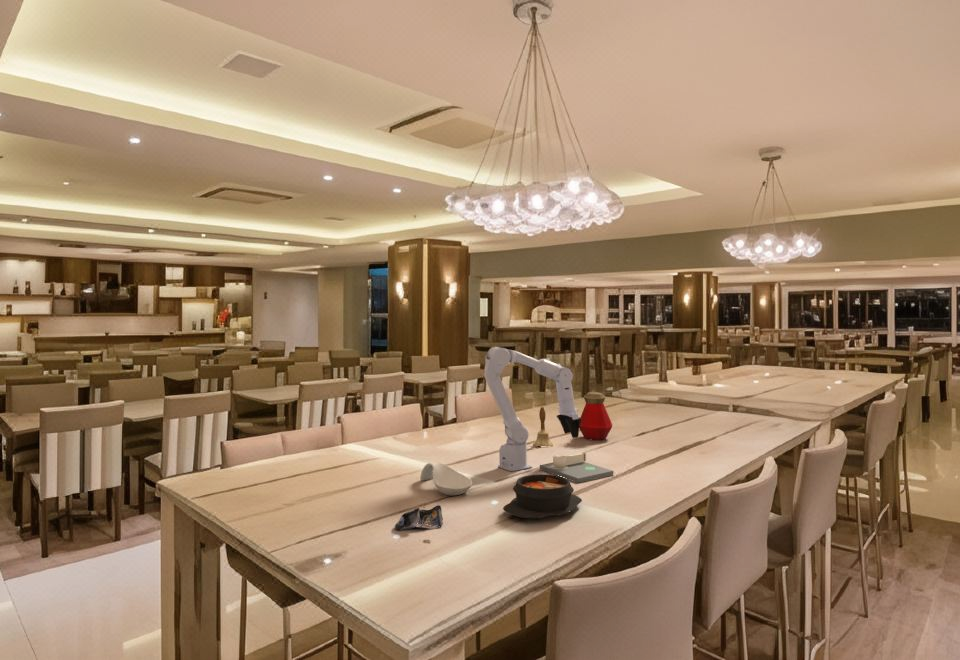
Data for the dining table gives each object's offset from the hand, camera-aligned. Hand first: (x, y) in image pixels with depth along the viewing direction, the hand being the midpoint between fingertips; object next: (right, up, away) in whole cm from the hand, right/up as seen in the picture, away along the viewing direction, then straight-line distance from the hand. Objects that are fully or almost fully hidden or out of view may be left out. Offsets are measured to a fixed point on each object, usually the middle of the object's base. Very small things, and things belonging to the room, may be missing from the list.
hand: (571, 435), depth 213 cm
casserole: (-16, -12, -51) cm, 54 cm away
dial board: (0, -11, -12) cm, 16 cm away
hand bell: (-7, -10, +30) cm, 32 cm away
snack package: (-50, -13, -61) cm, 80 cm away
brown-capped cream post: (-2, -9, -8) cm, 12 cm away
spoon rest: (-45, -12, -29) cm, 55 cm away
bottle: (+17, -9, +42) cm, 46 cm away
